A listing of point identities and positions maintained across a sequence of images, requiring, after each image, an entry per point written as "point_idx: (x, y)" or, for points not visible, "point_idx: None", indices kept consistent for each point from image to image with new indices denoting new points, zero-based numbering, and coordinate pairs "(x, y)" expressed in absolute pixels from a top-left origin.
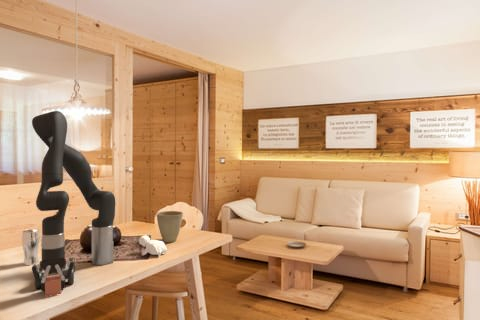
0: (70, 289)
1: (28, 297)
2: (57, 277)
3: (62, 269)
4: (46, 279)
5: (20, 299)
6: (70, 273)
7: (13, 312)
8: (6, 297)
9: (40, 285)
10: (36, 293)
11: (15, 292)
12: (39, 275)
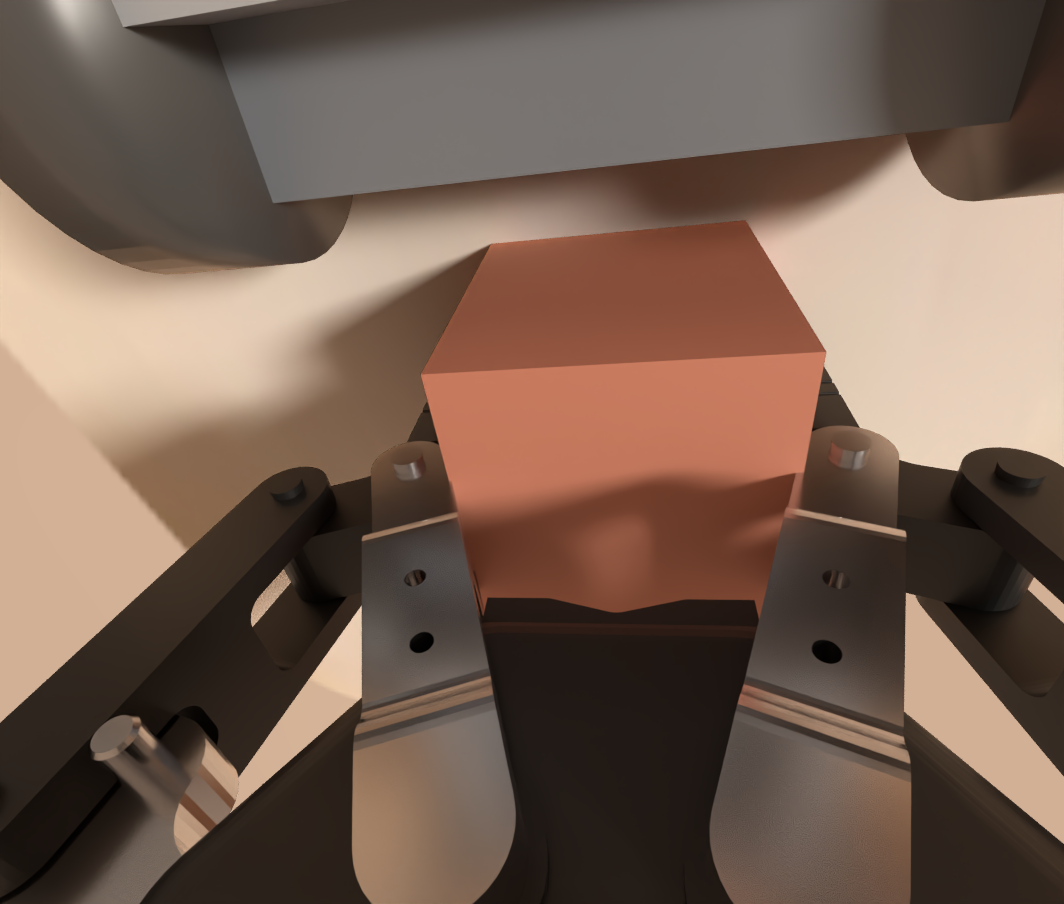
0: (890, 328)
1: (323, 432)
2: (707, 548)
3: (902, 577)
4: (491, 575)
5: (256, 459)
6: (1053, 660)
7: (351, 671)
8: (29, 349)
9: (342, 208)
10: (371, 331)
11: (7, 188)
12: (187, 235)
